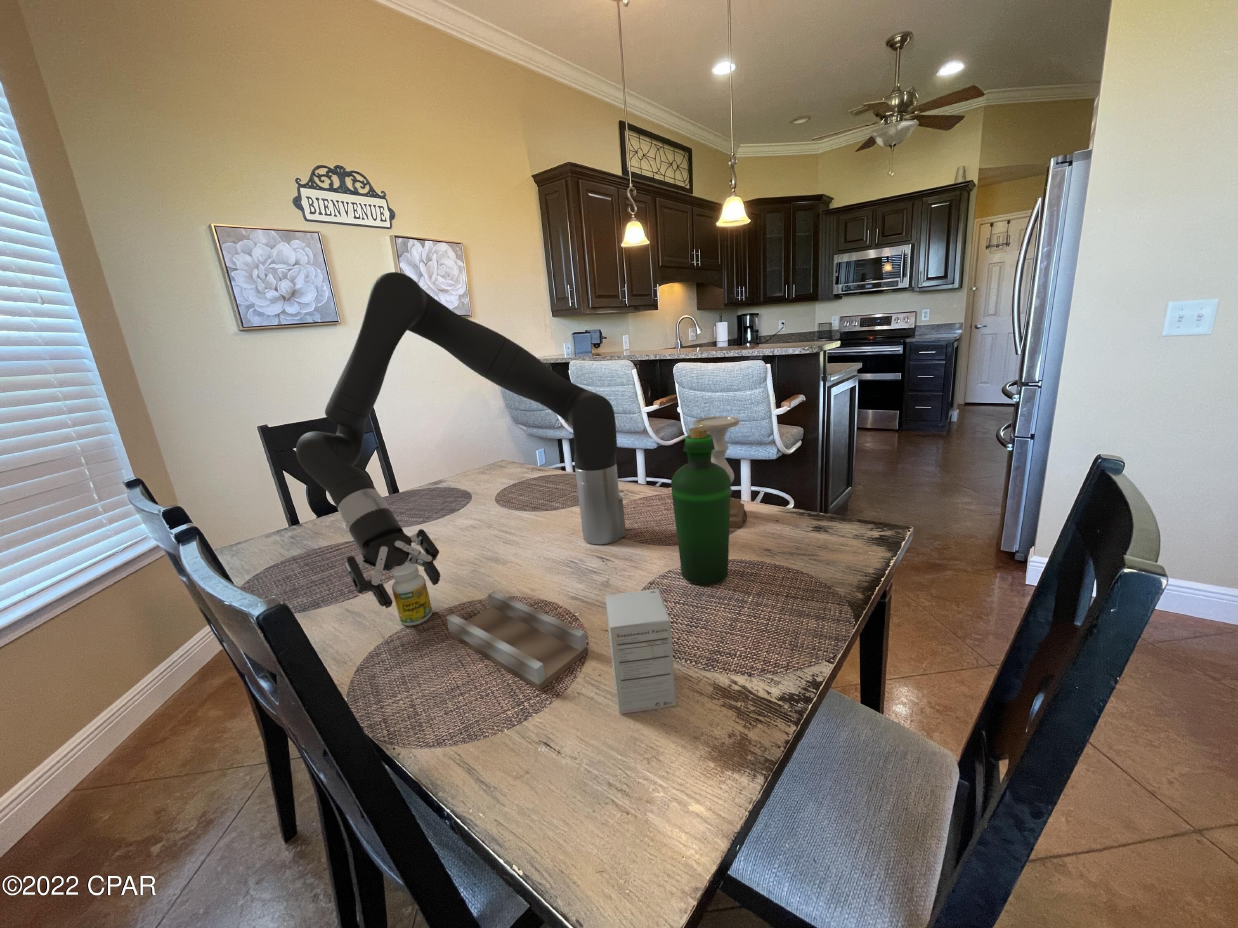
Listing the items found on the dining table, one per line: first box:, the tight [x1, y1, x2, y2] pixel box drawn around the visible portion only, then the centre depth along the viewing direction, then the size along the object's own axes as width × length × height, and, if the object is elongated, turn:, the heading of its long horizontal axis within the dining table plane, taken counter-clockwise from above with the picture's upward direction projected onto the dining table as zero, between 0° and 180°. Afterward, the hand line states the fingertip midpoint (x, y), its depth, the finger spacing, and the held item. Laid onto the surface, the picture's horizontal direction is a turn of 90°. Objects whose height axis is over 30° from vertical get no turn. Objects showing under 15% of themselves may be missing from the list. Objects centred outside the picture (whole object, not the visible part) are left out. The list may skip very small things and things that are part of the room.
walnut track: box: [446, 590, 588, 692], centre depth 74 cm, size 22×9×4 cm, turn 50°
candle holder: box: [693, 416, 745, 529], centre depth 111 cm, size 11×11×24 cm
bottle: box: [670, 426, 732, 586], centre depth 85 cm, size 11×11×28 cm
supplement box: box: [605, 588, 677, 715], centre depth 61 cm, size 7×7×13 cm
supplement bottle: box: [391, 563, 433, 627], centre depth 83 cm, size 5×5×10 cm
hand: (414, 593), depth 82 cm, fingers open, 8 cm apart
